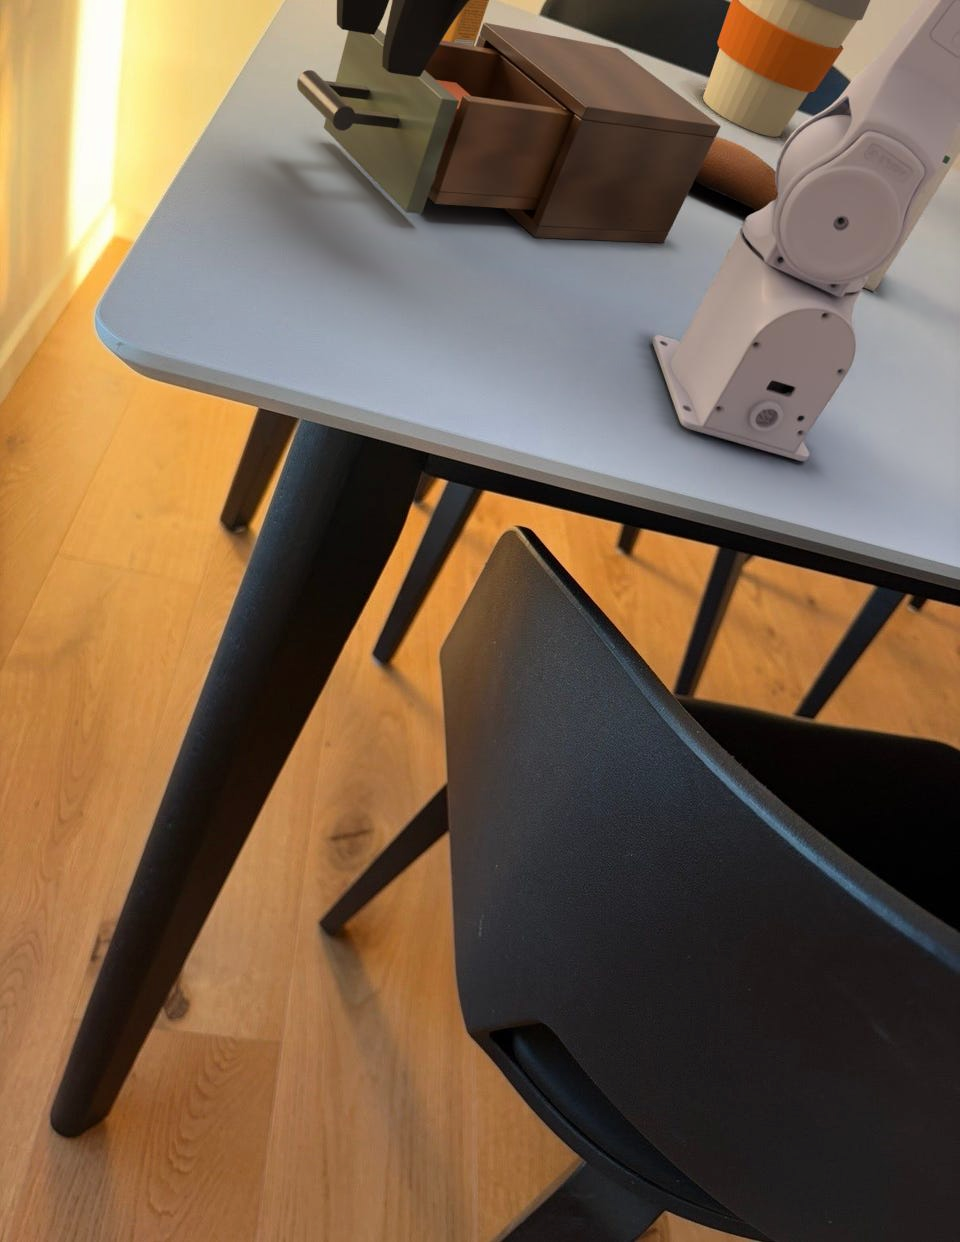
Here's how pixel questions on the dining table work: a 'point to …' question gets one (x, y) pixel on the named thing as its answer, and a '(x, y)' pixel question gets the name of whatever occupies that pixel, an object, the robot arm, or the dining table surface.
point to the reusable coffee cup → (776, 57)
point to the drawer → (443, 125)
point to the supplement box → (467, 23)
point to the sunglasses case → (738, 174)
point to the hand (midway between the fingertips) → (377, 50)
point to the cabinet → (608, 140)
